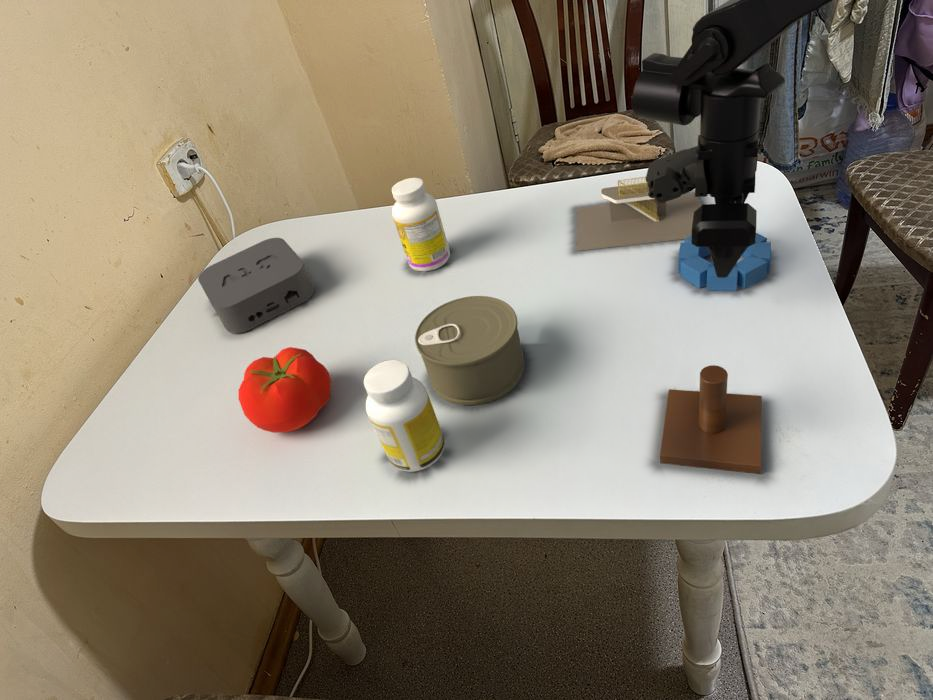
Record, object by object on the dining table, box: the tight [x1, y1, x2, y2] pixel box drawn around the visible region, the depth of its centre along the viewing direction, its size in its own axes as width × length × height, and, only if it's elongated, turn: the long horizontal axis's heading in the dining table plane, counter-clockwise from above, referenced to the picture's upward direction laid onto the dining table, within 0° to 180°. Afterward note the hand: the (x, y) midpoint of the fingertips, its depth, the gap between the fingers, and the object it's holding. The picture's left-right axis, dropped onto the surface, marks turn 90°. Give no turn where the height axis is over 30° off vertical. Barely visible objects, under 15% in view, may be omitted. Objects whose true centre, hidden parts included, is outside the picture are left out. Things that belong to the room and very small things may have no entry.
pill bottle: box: [363, 359, 446, 473], centre depth 69 cm, size 6×6×12 cm
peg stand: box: [659, 364, 763, 475], centre depth 63 cm, size 9×9×8 cm
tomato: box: [238, 346, 332, 433], centre depth 79 cm, size 11×11×8 cm
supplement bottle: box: [391, 177, 451, 272], centre depth 97 cm, size 7×7×13 cm
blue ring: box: [677, 232, 772, 292], centre depth 84 cm, size 11×11×2 cm
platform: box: [576, 176, 702, 252], centre depth 95 cm, size 12×18×7 cm, turn 83°
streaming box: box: [197, 237, 315, 334], centre depth 102 cm, size 14×14×5 cm
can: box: [414, 295, 526, 406], centre depth 78 cm, size 12×12×7 cm
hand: (723, 253), depth 79 cm, fingers open, 9 cm apart
